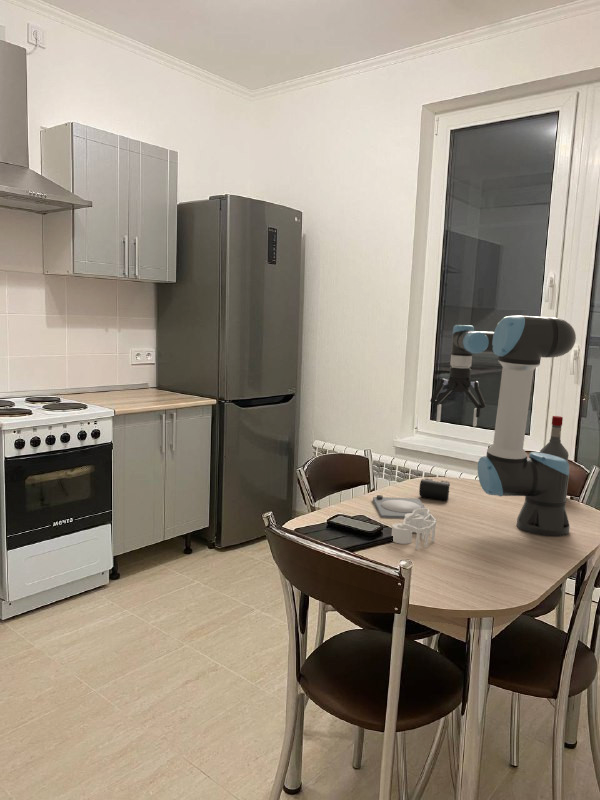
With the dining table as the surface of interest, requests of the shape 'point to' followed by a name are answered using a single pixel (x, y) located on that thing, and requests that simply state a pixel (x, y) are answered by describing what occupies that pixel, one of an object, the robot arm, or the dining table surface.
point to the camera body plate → (396, 506)
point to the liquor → (555, 440)
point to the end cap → (434, 489)
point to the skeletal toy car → (414, 527)
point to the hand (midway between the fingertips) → (456, 423)
